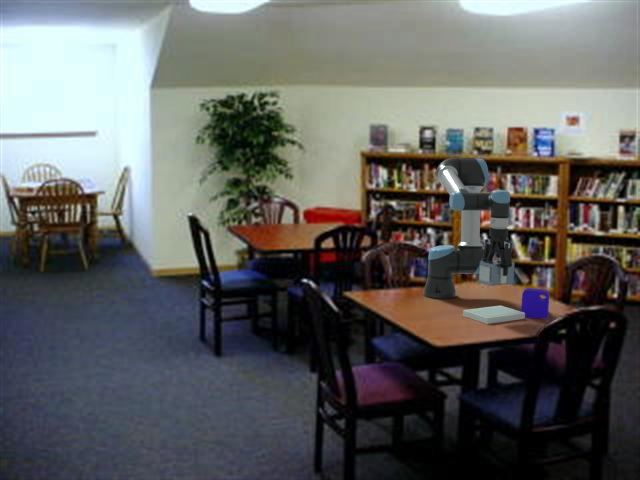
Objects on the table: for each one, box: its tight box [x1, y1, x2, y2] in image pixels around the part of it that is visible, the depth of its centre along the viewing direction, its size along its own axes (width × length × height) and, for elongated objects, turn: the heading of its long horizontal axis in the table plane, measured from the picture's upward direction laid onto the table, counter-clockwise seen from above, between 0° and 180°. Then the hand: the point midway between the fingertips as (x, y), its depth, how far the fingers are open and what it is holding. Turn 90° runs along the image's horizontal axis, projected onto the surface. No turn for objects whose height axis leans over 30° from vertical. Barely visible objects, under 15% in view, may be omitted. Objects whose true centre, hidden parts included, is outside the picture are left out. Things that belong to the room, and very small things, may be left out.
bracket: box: [520, 287, 550, 319], centre depth 369 cm, size 18×11×12 cm, turn 161°
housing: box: [478, 257, 516, 287], centre depth 357 cm, size 8×13×10 cm, turn 121°
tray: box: [462, 305, 526, 325], centre depth 360 cm, size 15×21×3 cm
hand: (495, 281), depth 358 cm, fingers closed on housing, 8 cm apart
